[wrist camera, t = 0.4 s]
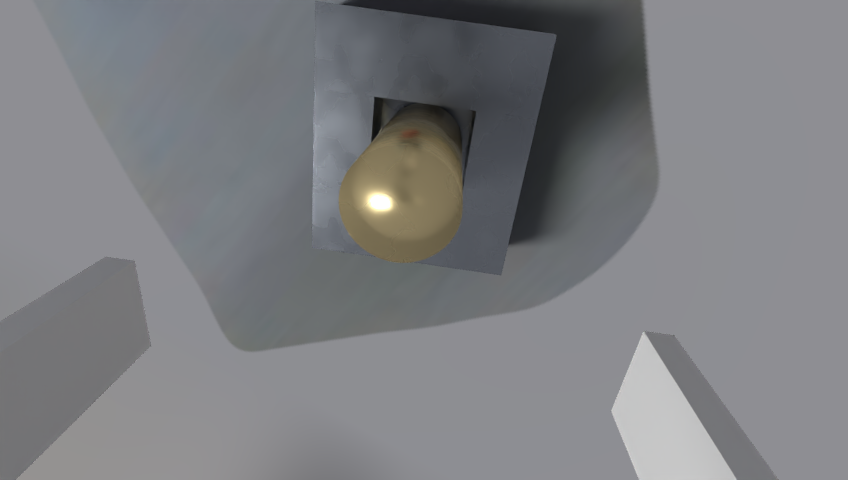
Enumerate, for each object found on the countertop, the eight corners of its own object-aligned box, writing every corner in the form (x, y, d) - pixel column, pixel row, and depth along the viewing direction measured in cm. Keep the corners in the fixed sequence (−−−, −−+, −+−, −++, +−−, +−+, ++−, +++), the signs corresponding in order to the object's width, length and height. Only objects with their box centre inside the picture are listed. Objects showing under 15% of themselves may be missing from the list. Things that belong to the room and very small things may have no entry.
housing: (335, 6, 29) (315, 1, 25) (543, 34, 29) (557, 34, 25) (328, 223, 36) (311, 247, 32) (496, 248, 36) (501, 275, 32)
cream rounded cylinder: (388, 97, 30) (341, 136, 18) (468, 108, 30) (472, 155, 18) (381, 175, 32) (336, 253, 21) (455, 185, 32) (452, 270, 21)
